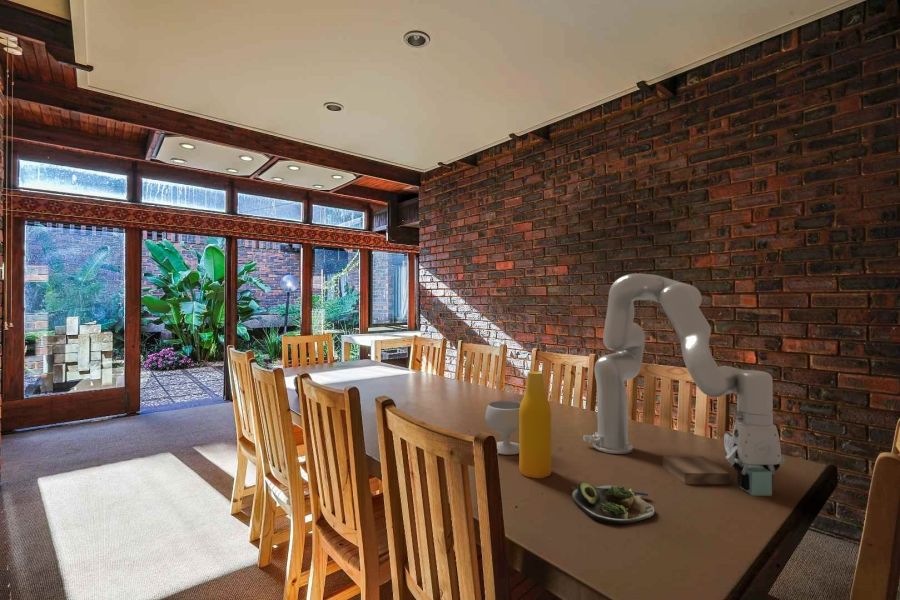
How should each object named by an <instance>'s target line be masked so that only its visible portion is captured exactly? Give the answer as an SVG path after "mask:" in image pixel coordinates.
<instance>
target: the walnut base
mask: <svg viewBox="0 0 900 600" xmlns="http://www.w3.org/2000/svg"><path fill="white" fill-rule="evenodd" d="M662 467H663V468H664V469H665V470H666V469H667V470H666V471H668V472H669V473H670V474H671V475H673V476H674V477H675V478H676V479H678V480H679V481H680V482H682V483H683V484H684V485H730V484H731V483H730V478H731V477H730V476H731V475H730V472H728V471H727V470H726V469H724V468H722V467H720V466H719V465H717V464H715V463H714V462H713V461H711V460H709V459H708V458H706V457H704V456H662Z"/></svg>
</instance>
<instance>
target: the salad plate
mask: <svg viewBox="0 0 900 600" xmlns="http://www.w3.org/2000/svg"><path fill="white" fill-rule="evenodd" d="M571 489H573V491H572V493H571V497H572V501H574V504H575V505H576V506H577V508H578V509H580V510H581V511H582V512H583V513H584V514H585V516H587V517H588V518H591V519H592V520H594V521H597V522H599V523H602V524H607V525H626V524H630V523H631V524H632V523H636V522H639V521H642V520H646V519H649V518H651V517H653V516H654V515H655V513H656V508H655V507H654V506H653V505H652V504H650V503H649V502H646V501H645V500H644V499H642V498H645V497H648V496H649V492H647V491H645V492H644V491H639V490H638V491H637V490H633V488H629V489H626V488H625V486H622V487H621V486H617V485H602V486H593V484H591V483H590V482H587V481H581V482H580V483H579V484H578V485H572V486H571ZM631 508H633V509H636V510H637V511H639V514H638V516H636V517H633V518H629V512H628V511H629V510H631Z"/></svg>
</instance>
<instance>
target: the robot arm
mask: <svg viewBox="0 0 900 600" xmlns="http://www.w3.org/2000/svg"><path fill="white" fill-rule="evenodd" d="M702 299H703V298H702V294H701V292H700V290H699V289H698V288H697V287H695V286H694V285H691V284H688V283H686V282H685V283H684V282H681V281H678V280H674V279H671V278H668V277H665V276H661V275H658V274H657V275H656V274H650V273H649V274H647V273H629V274H625V275H622V276H620V277H619V278H617V279H616V280H615V281H614V282H613V283H612V285H611V286H610V288H609V293H608V299H607V308H606V309H607V310H606V316H605V322H604V329H603V336H602V342H603V345H604V346H605V347H606V349H608V350H610V351H611V352H613V351H614V352H615V353H609V354H605V355H602V356H600V357H599V358H598V359H596V361H595V363H594V376H595V381H596V391H597V393H596V396H597V397H596V399H597V401H596V402H597V431H595V432H594V434H592V435H589V434H587V435H585V434H584V435H583V436H582V439H583V442H589V443H590V444H592V447H593V448H594V449H596V450H597V451H600V452H602V453H608V454H611V455H612V454H613V455H626V454H631V453H632V452H633V450H634V446H633V445H632V444H631V443H630V442H629V440H628V437H629V435H628V433H629V428H628V426H629V425H628V419H629V417H628V416H629V415H628V413H629V411H628V409H629V408H628V392H627V388H626V385H625V381H628V380H632V379H634V378H636V377H637V376H638V374H639V373H640V371H641V368H642V362H643V358H644V357H643V356H644V349H645V344H646V335H645V331H644V329H643V328H642V327H641V325H639V324H638V323H636V322H634V318H635V305H634V302H635V301H652V302H656V303H660V305H661V308H662V309H663V311H664V313H665V315H666V316H667V318H668V320H669V321H670V323H671V325H672V327H673V328H674V331H675V333H676V334H677V336H678V339H679V341H680V350H681V352H682V353H681V354H682V358H683V362H684V365H685V367H686V369H687V371H688V373H689V375H690V377H691V378H692V380H693V382H694V384H695V386H696V387H697V388H698V390H699V391H701V392H702V393H703V394H704V395H706V396H707V397H711V398H712V397H713V398H719V397H723V396H726V395H730V394H736V398H737V399H736V413H733V415H732V417H733V419H734V420H736V421H735V422H734V426H733V430H732V431H733V435H732V450H731V451H730V452H729V453H728V455H727V454H726V456H725V457H724V460H725V461H726V462H727V463H728V464H730V465H731V467H733V468H734V470H735V471H737V475H736V476H737V477H736V478H737V479H736V481H737V485H738V487H739V486H740V487H742V488H743V489H745V490H749V475H747V474H746V473H747V470H748V467H749V465H759V466H761V467H763V468H765V469H767V470H769V471H771V472H772V490H774V489H773V486H774V485H773V484H774V475H776V471H777V470H778V469H779V468H780V466H781V465H782V464H784V463H785V462H786V458H785V457H784V456H783V454H782V451H781V442H780V436H779V431H778V427H777V425H776V424H774V423H773V420H774V418H773V416H774V415H773V414H774V410H773V409H774V408H773V406H774V404H773V402H774V401H773V398H774V395H773V393H774V391H773V387H774V385H773V381H774V380H773V376H772V375H771V373H769V372H766V371H763V370H755V369H742V368H738V367H733V366H728V365H721V366H720V365H719V366H718V364H717V363H716V360H715V359H714V357H713V354H712V353H711V349H710V343H709V342H710V337H711V333H712V328H711V326H710V323H709V322H708V320H707V319H706V317H705V315H704V314H703V312H702V311H701V309H700V306H701V304H702V301H703V300H702ZM734 459H738V460H737V463H736V462H735V461H734ZM742 464H743V465H742ZM740 487H739V488H740ZM742 488H741V489H742ZM743 489H742V490H743ZM745 490H744V491H745Z"/></svg>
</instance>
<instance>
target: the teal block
mask: <svg viewBox="0 0 900 600" xmlns="http://www.w3.org/2000/svg"><path fill="white" fill-rule="evenodd" d="M746 474H747V475H749V490H745V489H743V488H742V487H740V486H739V485H738V487H739V488H740V489H742V490H743V491H744V492H746V493H748V494H749V495H750V496H766V497H767V496H773V489H772V472H771V471H769V470H767V469H765V468H763V467H762V465H749V467H748V470H747V473H746Z"/></svg>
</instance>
